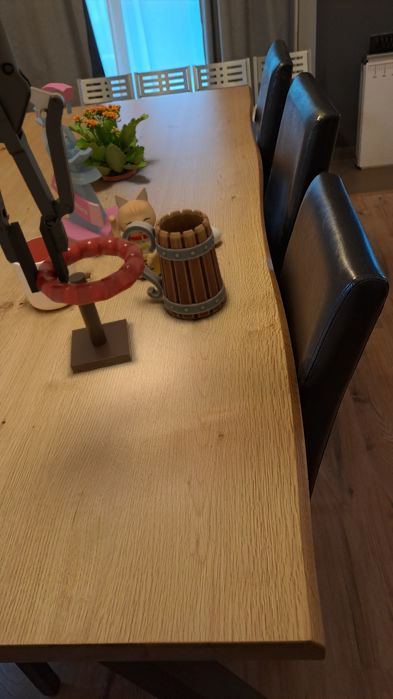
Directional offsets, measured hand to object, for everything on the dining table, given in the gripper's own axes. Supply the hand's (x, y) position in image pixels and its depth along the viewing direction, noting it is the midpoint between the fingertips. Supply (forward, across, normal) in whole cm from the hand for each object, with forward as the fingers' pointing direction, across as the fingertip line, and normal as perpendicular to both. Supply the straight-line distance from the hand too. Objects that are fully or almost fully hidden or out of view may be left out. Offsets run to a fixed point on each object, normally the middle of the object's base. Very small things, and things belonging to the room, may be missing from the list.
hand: (50, 282), depth 51 cm
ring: (-1, -4, 0) cm, 4 cm away
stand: (+23, 0, -16) cm, 28 cm away
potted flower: (+23, -7, -88) cm, 92 cm away
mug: (+23, -14, -24) cm, 36 cm away
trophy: (+23, +3, -56) cm, 61 cm away
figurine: (+23, -9, -37) cm, 45 cm away
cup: (+23, +8, -34) cm, 42 cm away
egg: (+23, -22, -41) cm, 52 cm away
